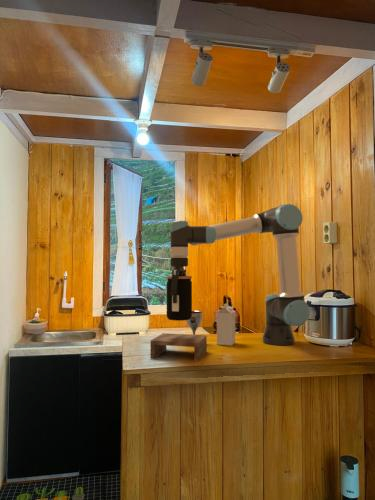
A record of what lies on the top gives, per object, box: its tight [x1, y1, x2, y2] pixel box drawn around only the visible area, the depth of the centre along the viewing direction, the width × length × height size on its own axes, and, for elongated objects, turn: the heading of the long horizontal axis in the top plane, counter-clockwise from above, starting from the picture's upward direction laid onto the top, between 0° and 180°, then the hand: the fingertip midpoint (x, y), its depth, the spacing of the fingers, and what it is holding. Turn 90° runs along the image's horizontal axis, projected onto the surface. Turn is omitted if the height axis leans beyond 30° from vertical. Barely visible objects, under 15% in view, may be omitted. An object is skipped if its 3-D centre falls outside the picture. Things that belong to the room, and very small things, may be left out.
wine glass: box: [185, 310, 203, 335], centre depth 177 cm, size 8×8×15 cm
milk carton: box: [216, 302, 236, 347], centre depth 177 cm, size 7×7×19 cm
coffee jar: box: [166, 275, 193, 322], centre depth 157 cm, size 11×11×18 cm
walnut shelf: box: [149, 332, 208, 362], centre depth 156 cm, size 20×16×7 cm
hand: (179, 309), depth 157 cm, fingers closed on coffee jar, 11 cm apart
